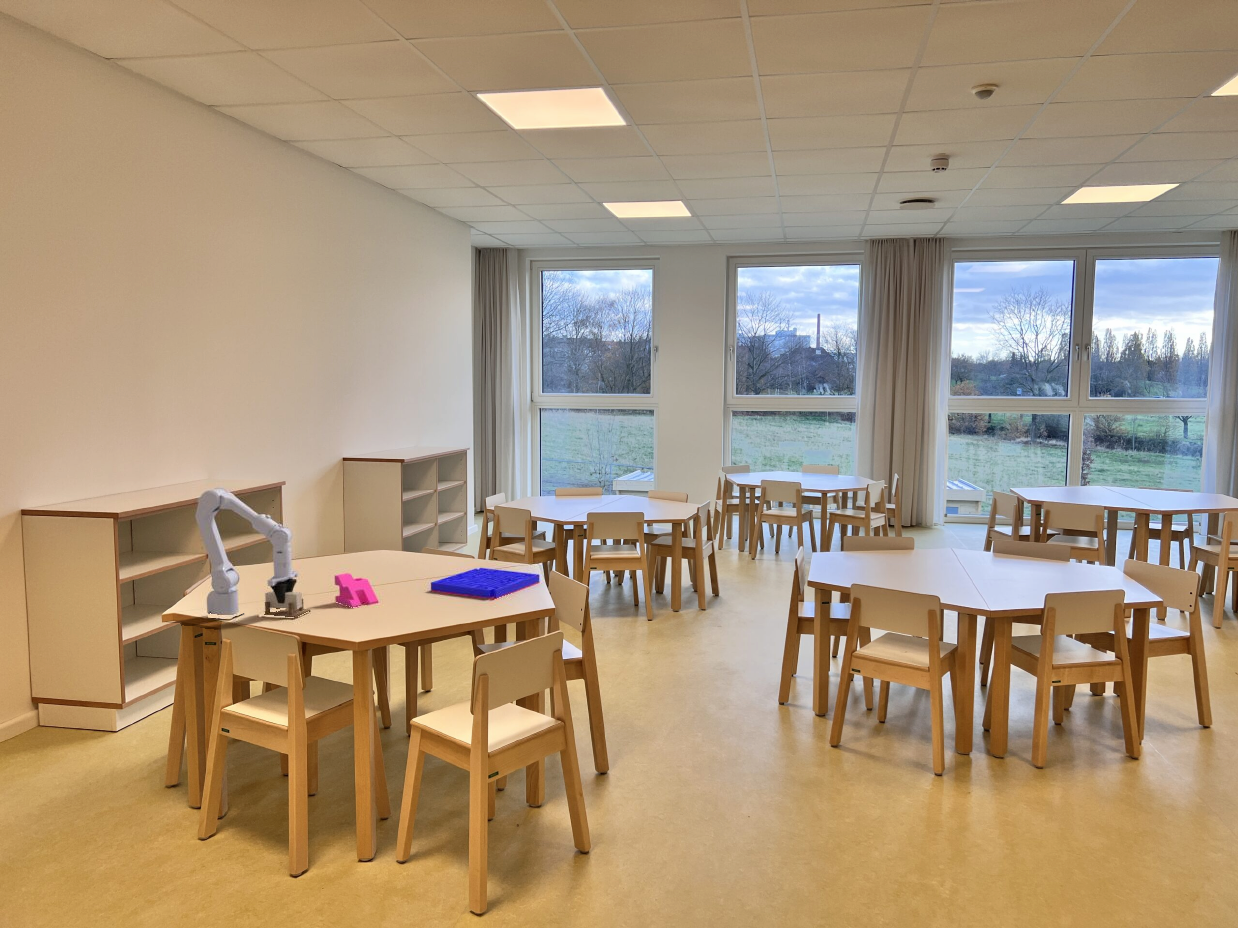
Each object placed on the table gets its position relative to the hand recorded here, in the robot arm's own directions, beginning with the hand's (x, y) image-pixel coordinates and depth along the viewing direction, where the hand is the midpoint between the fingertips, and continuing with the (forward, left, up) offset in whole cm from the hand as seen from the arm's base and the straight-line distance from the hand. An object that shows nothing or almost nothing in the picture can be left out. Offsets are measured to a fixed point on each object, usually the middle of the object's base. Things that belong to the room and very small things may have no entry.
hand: (284, 601), depth 285 cm
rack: (0, 0, -4) cm, 4 cm away
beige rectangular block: (0, 0, -2) cm, 2 cm away
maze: (+54, +51, -5) cm, 74 cm away
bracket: (+16, +19, -5) cm, 26 cm away
